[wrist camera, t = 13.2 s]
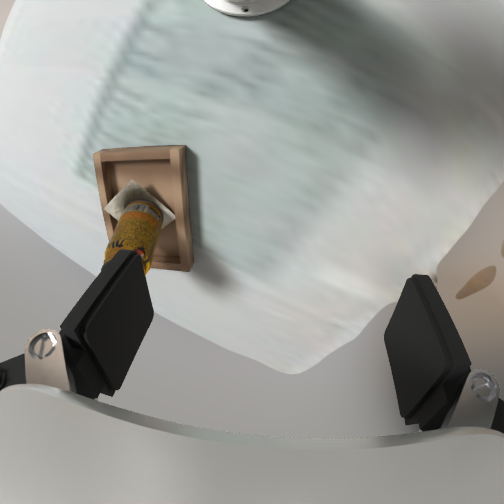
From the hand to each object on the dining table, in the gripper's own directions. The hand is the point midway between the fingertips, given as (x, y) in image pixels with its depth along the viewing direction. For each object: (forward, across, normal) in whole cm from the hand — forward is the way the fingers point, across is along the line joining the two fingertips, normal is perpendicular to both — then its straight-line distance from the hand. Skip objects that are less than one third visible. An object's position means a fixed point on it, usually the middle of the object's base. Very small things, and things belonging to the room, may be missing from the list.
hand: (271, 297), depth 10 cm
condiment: (+27, +19, +10) cm, 35 cm away
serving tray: (+28, +19, +10) cm, 35 cm away
